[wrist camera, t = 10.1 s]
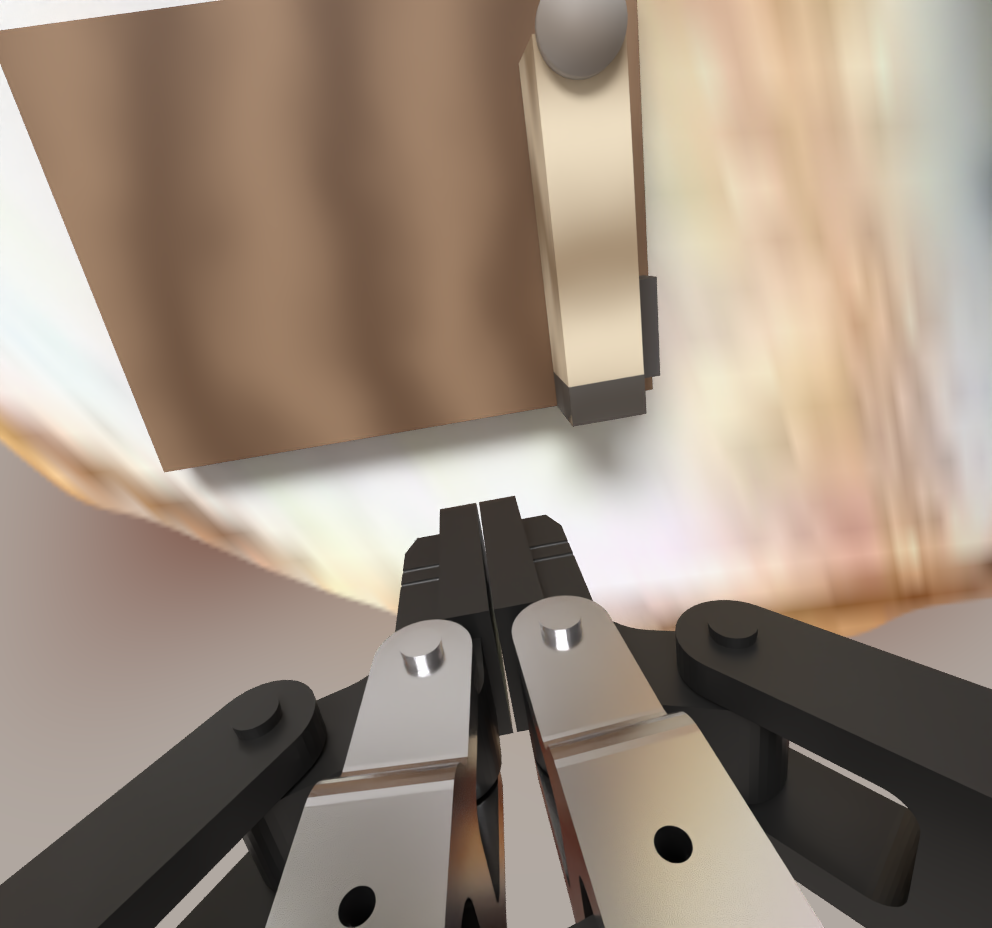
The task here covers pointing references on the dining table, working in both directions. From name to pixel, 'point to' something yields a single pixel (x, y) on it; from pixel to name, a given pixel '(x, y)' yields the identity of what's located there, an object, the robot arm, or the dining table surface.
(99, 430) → the dining table surface
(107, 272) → the walnut board
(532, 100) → the folding leg
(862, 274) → the dining table surface
